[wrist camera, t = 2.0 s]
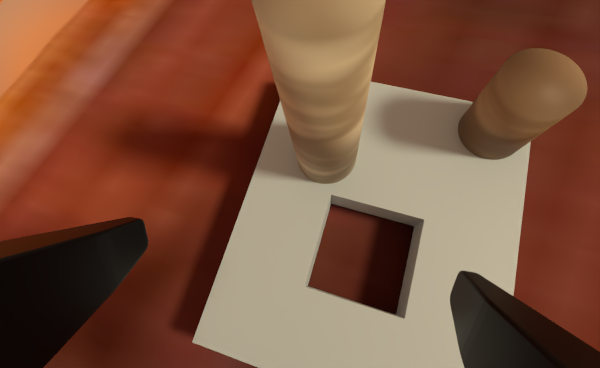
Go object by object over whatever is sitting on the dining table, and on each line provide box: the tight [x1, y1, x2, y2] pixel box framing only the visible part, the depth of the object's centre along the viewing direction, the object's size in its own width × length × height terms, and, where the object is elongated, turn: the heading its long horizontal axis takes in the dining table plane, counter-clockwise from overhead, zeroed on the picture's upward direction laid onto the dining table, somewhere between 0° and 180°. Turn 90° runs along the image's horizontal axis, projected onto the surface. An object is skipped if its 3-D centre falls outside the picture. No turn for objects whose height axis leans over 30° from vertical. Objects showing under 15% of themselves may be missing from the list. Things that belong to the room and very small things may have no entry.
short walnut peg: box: [458, 48, 587, 160], centre depth 18 cm, size 4×4×6 cm
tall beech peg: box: [252, 0, 386, 184], centre depth 15 cm, size 4×4×13 cm
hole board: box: [192, 82, 531, 368], centre depth 21 cm, size 20×17×2 cm
